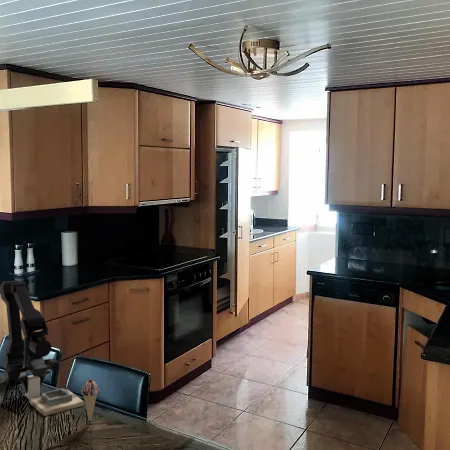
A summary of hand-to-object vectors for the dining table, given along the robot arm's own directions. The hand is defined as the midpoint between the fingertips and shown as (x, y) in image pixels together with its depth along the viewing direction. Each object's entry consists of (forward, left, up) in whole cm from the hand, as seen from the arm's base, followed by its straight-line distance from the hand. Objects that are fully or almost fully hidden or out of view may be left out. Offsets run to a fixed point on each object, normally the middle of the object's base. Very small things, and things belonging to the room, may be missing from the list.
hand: (32, 391), depth 184 cm
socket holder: (+12, +4, -2) cm, 13 cm away
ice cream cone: (+34, +6, -2) cm, 35 cm away
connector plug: (0, 0, -2) cm, 2 cm away
